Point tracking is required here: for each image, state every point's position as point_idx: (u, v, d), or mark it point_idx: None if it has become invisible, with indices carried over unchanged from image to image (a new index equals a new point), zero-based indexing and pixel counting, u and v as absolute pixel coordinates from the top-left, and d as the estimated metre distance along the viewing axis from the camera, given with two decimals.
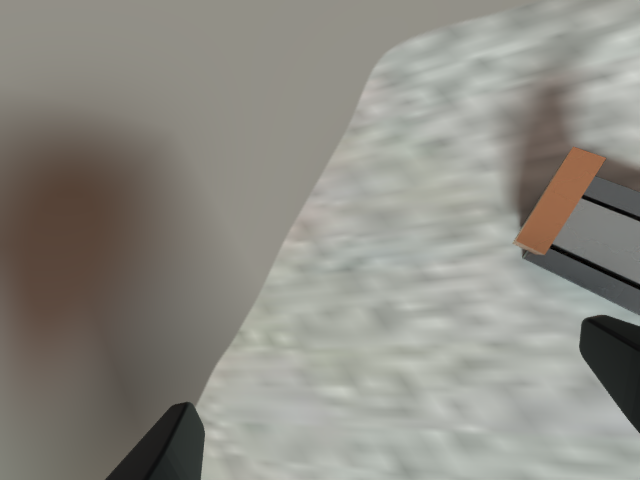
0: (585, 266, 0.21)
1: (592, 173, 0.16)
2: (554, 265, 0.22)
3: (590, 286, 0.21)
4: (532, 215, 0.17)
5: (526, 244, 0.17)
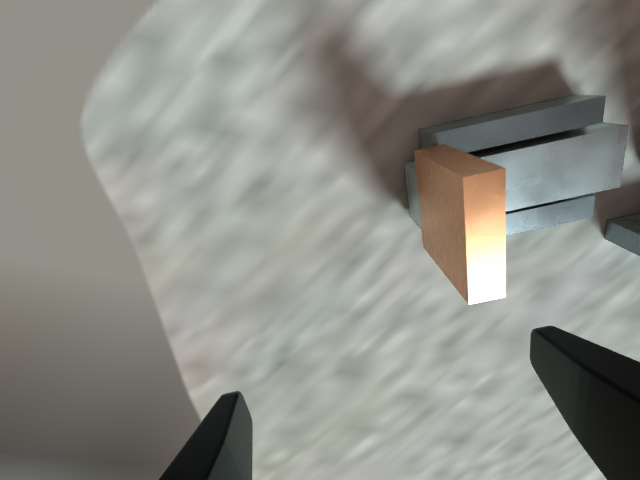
0: None
1: (501, 193, 0.12)
2: None
3: (510, 230, 0.19)
4: (468, 271, 0.13)
5: (482, 300, 0.14)
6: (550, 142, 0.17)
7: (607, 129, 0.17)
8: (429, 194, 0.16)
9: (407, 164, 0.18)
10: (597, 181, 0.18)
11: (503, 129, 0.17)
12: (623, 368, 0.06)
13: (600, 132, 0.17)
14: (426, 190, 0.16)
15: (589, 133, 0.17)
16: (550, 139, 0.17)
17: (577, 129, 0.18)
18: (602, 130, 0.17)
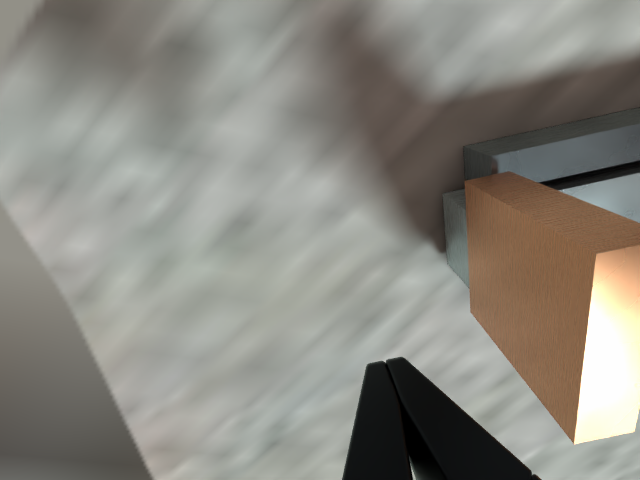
0: None
1: None
2: None
3: None
4: (580, 397, 0.08)
5: (596, 438, 0.08)
6: None
7: None
8: (493, 250, 0.10)
9: (448, 196, 0.13)
10: None
11: (594, 149, 0.11)
12: (433, 407, 0.06)
13: None
14: (487, 242, 0.11)
15: None
16: None
17: None
18: None
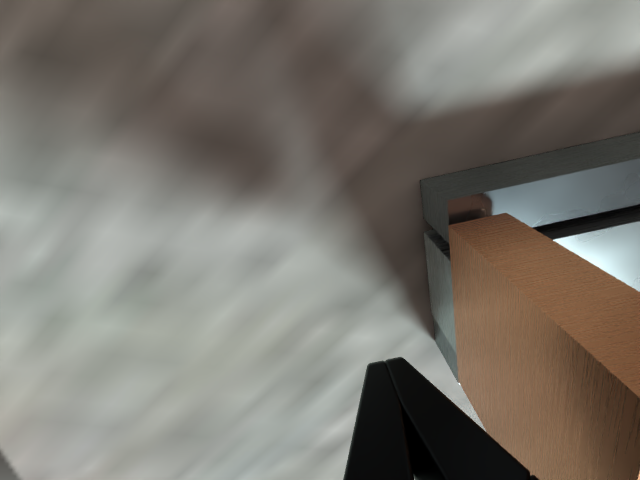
0: None
1: None
2: None
3: None
4: None
5: None
6: None
7: None
8: (485, 324, 0.08)
9: (430, 235, 0.10)
10: None
11: (582, 190, 0.09)
12: (432, 408, 0.06)
13: None
14: (476, 311, 0.08)
15: None
16: None
17: None
18: None
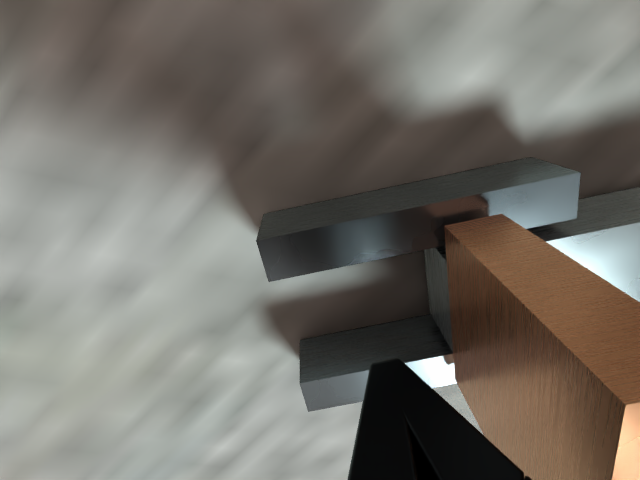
0: None
1: None
2: (356, 393, 0.11)
3: None
4: None
5: None
6: None
7: None
8: (478, 323, 0.08)
9: None
10: None
11: (390, 231, 0.09)
12: (427, 408, 0.06)
13: None
14: (470, 310, 0.08)
15: None
16: None
17: None
18: None
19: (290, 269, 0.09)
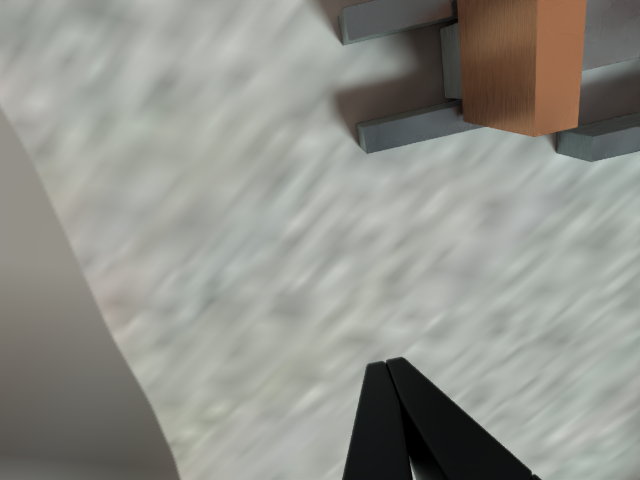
0: (426, 115, 0.16)
1: None
2: (399, 137, 0.17)
3: (443, 131, 0.17)
4: (536, 89, 0.11)
5: (550, 131, 0.12)
6: None
7: None
8: (478, 33, 0.14)
9: None
10: None
11: (424, 3, 0.15)
12: (433, 407, 0.06)
13: None
14: (473, 32, 0.14)
15: None
16: None
17: None
18: None
19: (362, 31, 0.15)
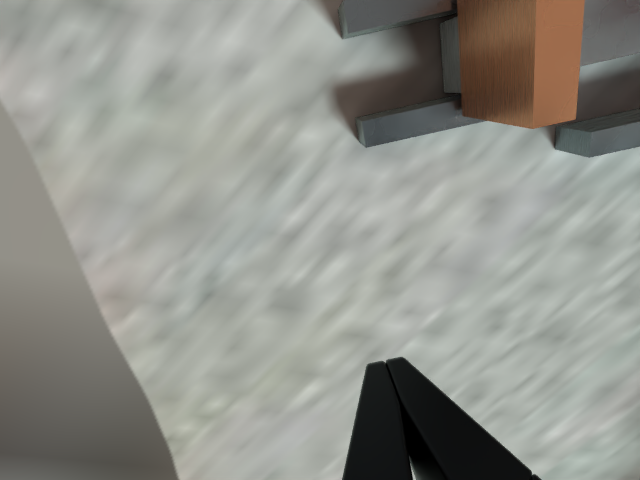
0: (425, 109, 0.17)
1: None
2: (398, 131, 0.17)
3: (442, 125, 0.17)
4: (534, 80, 0.11)
5: (548, 123, 0.12)
6: None
7: None
8: (477, 27, 0.14)
9: (444, 22, 0.16)
10: None
11: None
12: (433, 407, 0.06)
13: None
14: (473, 26, 0.14)
15: None
16: None
17: None
18: None
19: (362, 24, 0.15)
